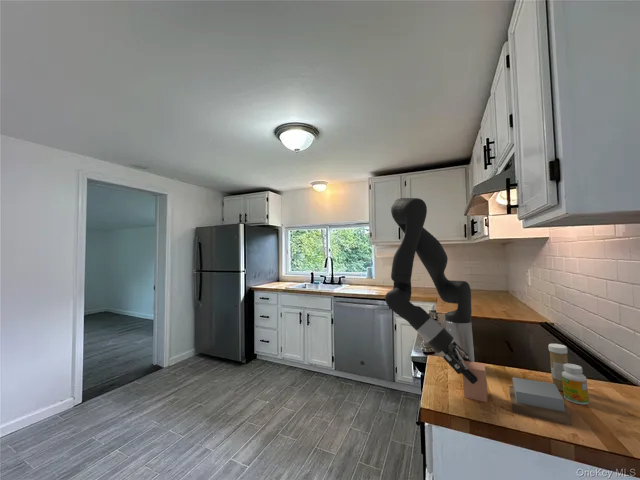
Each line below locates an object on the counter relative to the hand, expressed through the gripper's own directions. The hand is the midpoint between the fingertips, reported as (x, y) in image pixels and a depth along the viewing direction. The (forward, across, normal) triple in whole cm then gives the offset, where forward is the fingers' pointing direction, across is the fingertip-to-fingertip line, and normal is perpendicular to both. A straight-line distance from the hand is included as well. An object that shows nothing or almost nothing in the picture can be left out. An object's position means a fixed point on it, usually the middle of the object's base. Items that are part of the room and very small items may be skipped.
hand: (476, 376), depth 84 cm
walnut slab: (+15, 0, -6) cm, 16 cm away
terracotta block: (+4, 0, +4) cm, 6 cm away
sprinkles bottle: (+20, +17, -12) cm, 29 cm away
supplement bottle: (+22, +10, -13) cm, 27 cm away
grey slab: (+13, 0, -8) cm, 15 cm away
